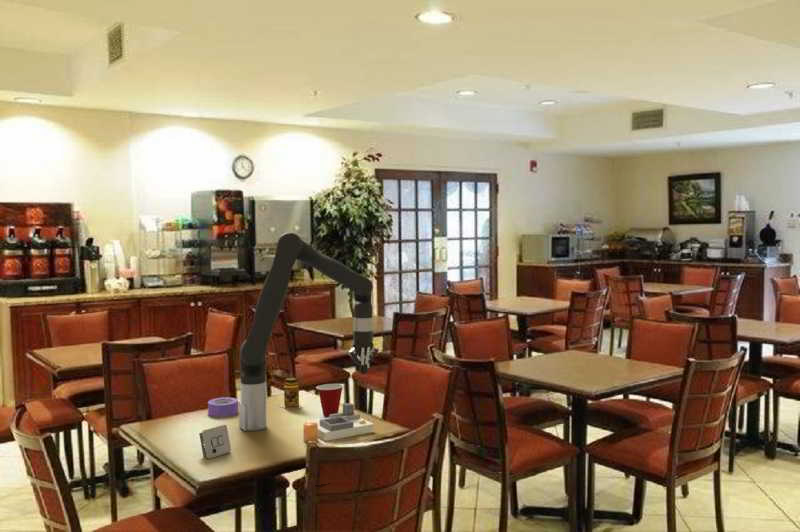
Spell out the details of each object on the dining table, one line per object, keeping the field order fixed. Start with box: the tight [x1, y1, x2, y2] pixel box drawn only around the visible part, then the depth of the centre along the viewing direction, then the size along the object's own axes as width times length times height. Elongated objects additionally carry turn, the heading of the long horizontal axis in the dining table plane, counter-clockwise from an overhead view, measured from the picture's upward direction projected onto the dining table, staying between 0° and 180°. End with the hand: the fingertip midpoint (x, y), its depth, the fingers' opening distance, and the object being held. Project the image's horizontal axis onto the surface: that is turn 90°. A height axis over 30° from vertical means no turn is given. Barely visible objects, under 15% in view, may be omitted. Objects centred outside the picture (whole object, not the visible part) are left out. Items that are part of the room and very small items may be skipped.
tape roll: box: [207, 396, 239, 418], centre depth 275 cm, size 12×12×5 cm
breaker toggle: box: [342, 402, 355, 416], centre depth 258 cm, size 3×3×5 cm
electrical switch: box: [198, 424, 232, 460], centre depth 225 cm, size 9×5×9 cm, turn 141°
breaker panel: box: [304, 412, 375, 442], centre depth 251 cm, size 20×16×5 cm
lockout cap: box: [302, 421, 319, 444], centre depth 239 cm, size 5×5×6 cm
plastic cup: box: [316, 383, 344, 418], centre depth 272 cm, size 11×11×12 cm
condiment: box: [278, 377, 303, 411], centre depth 285 cm, size 7×8×12 cm
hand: (363, 374), depth 260 cm, fingers closed
